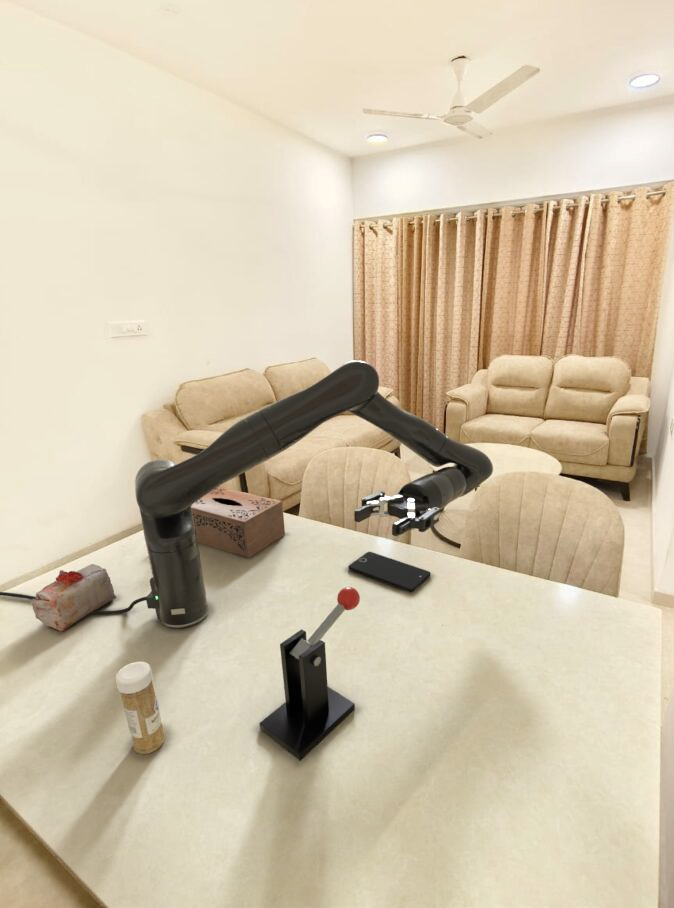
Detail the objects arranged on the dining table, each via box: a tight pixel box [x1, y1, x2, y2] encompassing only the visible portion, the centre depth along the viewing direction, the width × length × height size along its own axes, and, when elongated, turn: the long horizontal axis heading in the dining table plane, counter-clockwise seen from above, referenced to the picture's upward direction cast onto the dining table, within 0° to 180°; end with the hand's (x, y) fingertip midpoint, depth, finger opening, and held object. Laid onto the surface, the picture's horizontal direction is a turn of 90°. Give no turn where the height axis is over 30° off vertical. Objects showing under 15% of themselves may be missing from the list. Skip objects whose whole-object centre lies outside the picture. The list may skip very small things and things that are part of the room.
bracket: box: [258, 629, 356, 762], centre depth 76 cm, size 12×9×15 cm
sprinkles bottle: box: [115, 661, 166, 755], centre depth 73 cm, size 5×5×14 cm
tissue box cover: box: [191, 485, 286, 559], centre depth 136 cm, size 26×14×10 cm, turn 61°
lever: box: [290, 586, 361, 664], centre depth 77 cm, size 14×4×4 cm, turn 141°
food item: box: [29, 563, 117, 632], centre depth 103 cm, size 14×8×10 cm, turn 154°
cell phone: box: [347, 551, 431, 593], centre depth 118 cm, size 9×18×1 cm, turn 55°
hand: (374, 523), depth 86 cm, fingers open, 8 cm apart
